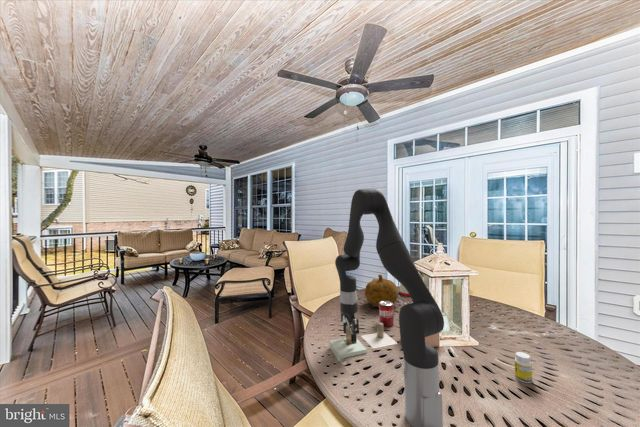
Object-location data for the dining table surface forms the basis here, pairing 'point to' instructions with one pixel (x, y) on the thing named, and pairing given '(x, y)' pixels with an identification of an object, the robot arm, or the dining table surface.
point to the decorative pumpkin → (381, 291)
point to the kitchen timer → (403, 290)
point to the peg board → (346, 349)
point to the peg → (348, 336)
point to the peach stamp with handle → (432, 340)
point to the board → (379, 338)
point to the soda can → (386, 313)
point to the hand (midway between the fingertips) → (349, 337)
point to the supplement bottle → (523, 367)
